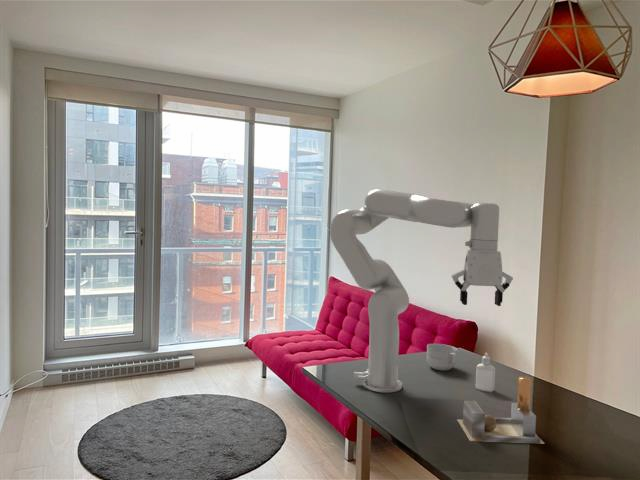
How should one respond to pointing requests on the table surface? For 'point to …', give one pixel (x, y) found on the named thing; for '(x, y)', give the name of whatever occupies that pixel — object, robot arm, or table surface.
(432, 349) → the teacup
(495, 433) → the board
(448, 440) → the table surface
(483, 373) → the eye dropper bottle
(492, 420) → the walnut
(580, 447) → the table surface
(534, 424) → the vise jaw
